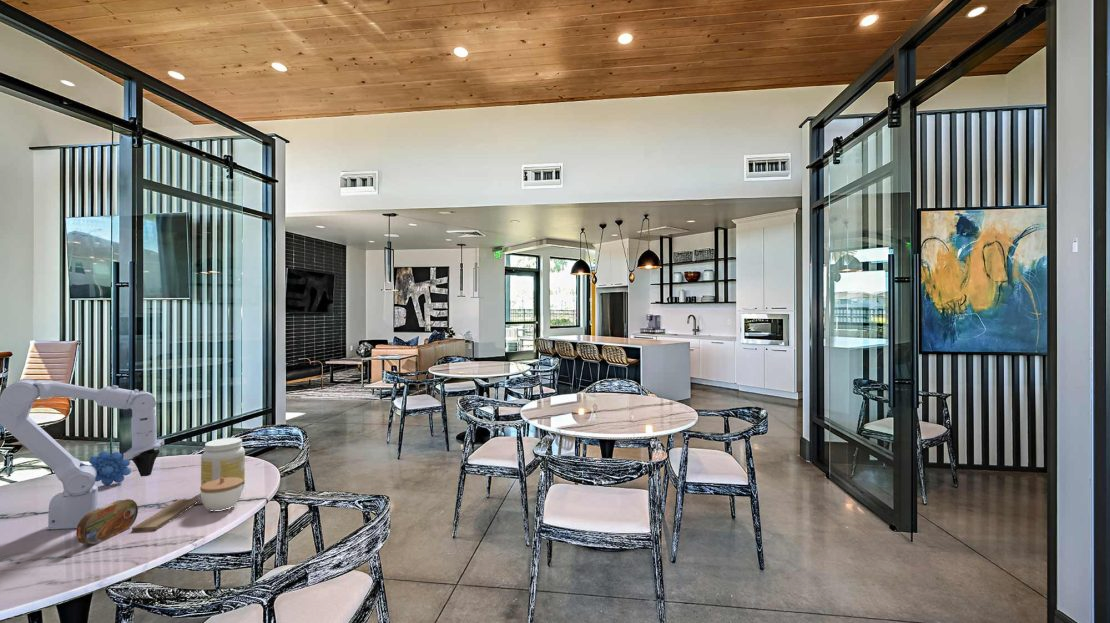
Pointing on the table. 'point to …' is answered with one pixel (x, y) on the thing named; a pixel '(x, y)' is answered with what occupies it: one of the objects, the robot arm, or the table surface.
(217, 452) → the supplement tub
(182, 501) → the walnut board
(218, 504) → the lidded jar
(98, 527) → the tin
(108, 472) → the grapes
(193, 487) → the table surface
